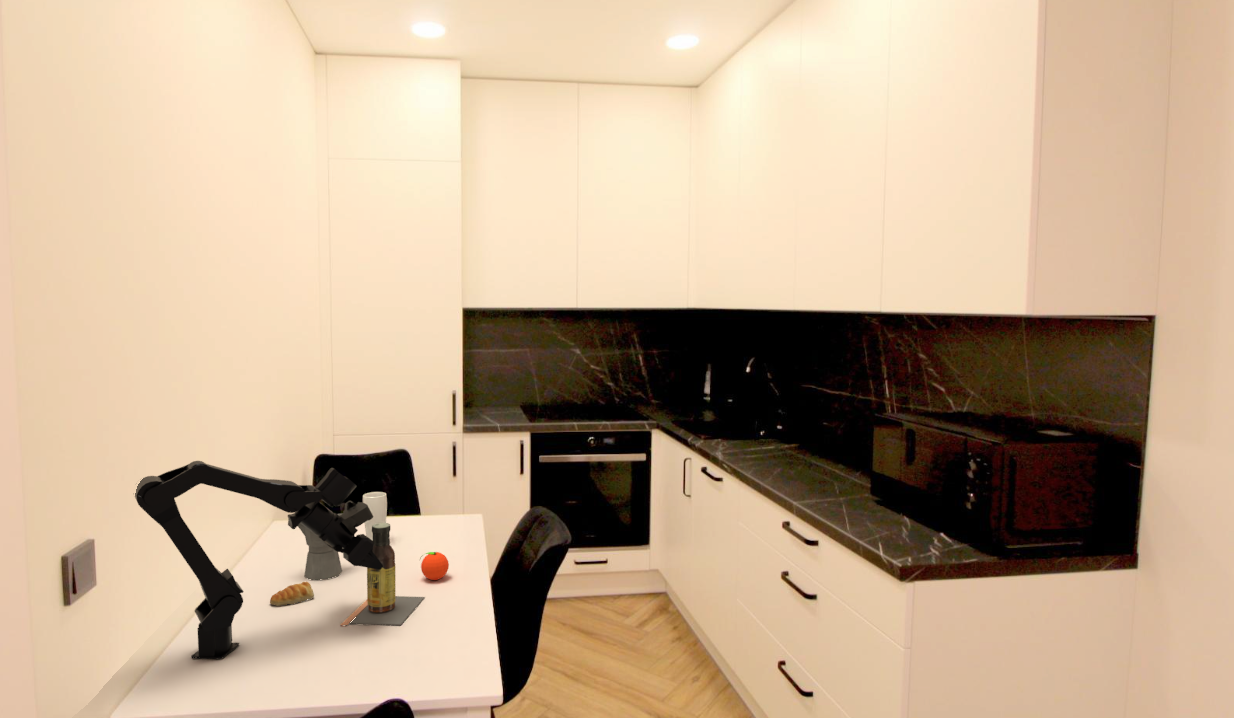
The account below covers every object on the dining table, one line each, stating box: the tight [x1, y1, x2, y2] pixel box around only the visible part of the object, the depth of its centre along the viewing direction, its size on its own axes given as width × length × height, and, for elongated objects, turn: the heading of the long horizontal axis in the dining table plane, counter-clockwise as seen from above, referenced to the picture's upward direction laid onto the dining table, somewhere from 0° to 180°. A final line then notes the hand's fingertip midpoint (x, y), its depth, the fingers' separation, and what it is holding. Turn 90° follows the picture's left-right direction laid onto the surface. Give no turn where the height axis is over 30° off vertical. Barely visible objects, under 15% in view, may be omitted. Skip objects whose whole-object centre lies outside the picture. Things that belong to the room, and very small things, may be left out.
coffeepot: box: [297, 513, 343, 581], centre depth 200 cm, size 15×9×18 cm, turn 116°
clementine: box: [419, 551, 450, 581], centre depth 196 cm, size 8×7×7 cm
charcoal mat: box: [349, 595, 425, 627], centre depth 175 cm, size 16×12×1 cm
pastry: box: [269, 581, 315, 607], centre depth 182 cm, size 9×7×4 cm
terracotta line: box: [340, 599, 368, 626], centre depth 180 cm, size 26×2×1 cm, turn 176°
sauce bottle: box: [366, 522, 396, 613], centre depth 175 cm, size 6×6×20 cm
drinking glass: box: [362, 491, 388, 541], centre depth 224 cm, size 7×7×15 cm
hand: (374, 562), depth 174 cm, fingers open, 9 cm apart
